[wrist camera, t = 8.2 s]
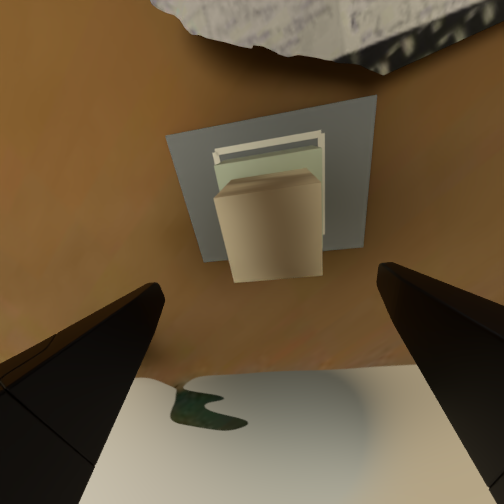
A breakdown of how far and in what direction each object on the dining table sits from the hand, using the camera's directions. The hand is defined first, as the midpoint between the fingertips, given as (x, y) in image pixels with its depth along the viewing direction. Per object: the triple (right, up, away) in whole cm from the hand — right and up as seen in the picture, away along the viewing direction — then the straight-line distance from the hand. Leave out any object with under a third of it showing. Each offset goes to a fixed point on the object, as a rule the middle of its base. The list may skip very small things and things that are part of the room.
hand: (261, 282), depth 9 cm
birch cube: (+1, +4, +7) cm, 8 cm away
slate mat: (+1, +6, +10) cm, 12 cm away
